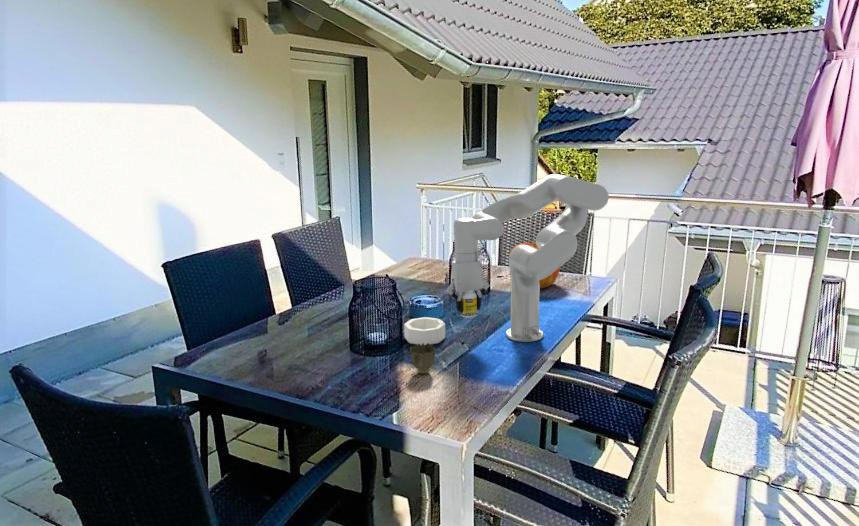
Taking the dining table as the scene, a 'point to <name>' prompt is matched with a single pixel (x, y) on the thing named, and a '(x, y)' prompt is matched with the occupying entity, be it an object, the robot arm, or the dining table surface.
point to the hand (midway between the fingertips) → (468, 309)
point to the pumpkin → (547, 280)
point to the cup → (422, 357)
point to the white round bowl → (424, 330)
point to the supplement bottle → (469, 304)
